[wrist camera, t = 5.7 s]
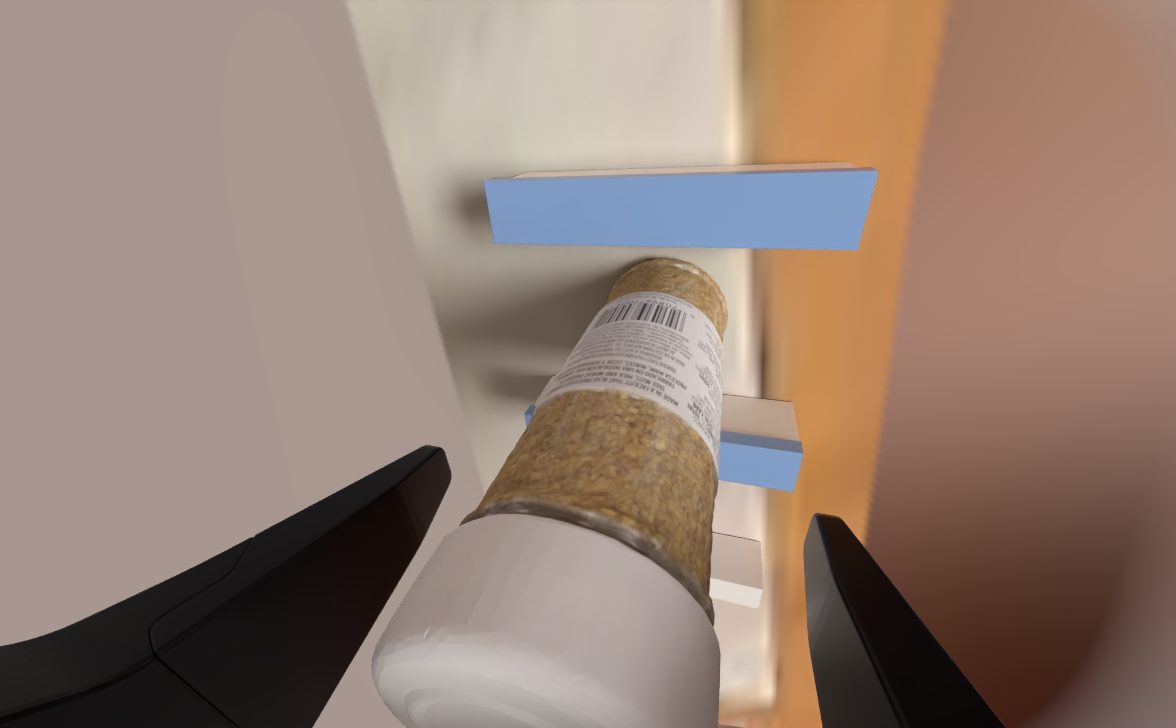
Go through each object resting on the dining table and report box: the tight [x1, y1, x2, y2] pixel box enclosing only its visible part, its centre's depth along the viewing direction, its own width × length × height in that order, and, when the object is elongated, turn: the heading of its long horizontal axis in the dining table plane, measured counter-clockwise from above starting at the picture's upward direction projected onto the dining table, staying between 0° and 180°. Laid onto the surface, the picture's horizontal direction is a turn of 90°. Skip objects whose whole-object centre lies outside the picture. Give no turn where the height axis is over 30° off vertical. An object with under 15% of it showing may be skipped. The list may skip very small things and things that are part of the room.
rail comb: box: [484, 162, 878, 609], centre depth 17 cm, size 19×10×3 cm, turn 4°
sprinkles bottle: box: [372, 258, 728, 728], centre depth 11 cm, size 5×5×14 cm
